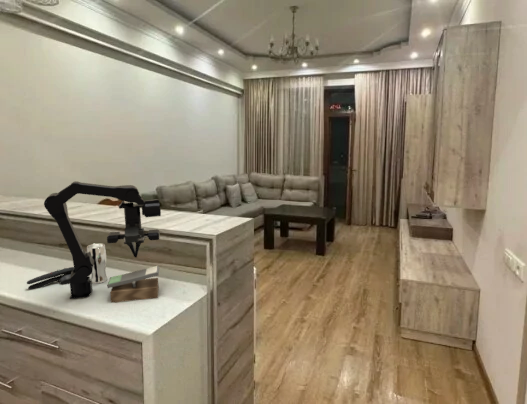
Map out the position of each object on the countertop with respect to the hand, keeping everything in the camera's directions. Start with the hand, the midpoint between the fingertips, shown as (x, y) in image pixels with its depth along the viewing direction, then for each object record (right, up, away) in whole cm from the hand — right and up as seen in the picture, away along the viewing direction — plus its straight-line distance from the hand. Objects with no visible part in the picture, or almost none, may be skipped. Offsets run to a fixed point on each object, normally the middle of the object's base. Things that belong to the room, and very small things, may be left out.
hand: (135, 257), depth 139 cm
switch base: (+2, -13, -5) cm, 14 cm away
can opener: (-35, -12, +4) cm, 37 cm away
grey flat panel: (+2, -7, -7) cm, 10 cm away
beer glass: (-18, -11, +7) cm, 22 cm away
